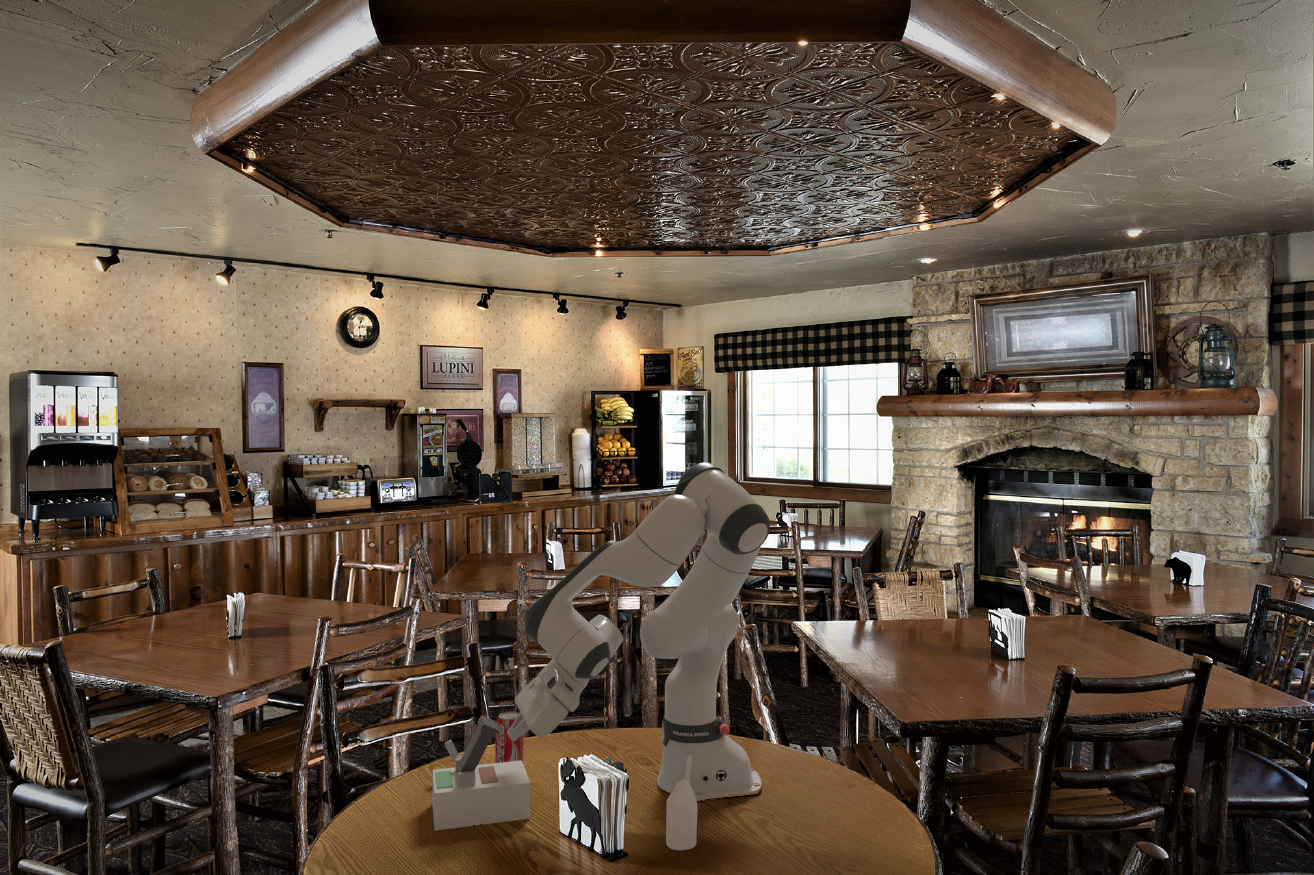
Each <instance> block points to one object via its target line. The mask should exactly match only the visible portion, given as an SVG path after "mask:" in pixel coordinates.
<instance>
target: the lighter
mask: <svg viewBox="0 0 1314 875" xmlns="http://www.w3.org/2000/svg"><path fill="white" fill-rule="evenodd" d="M444 746H445V749H446V750H447V752H448V754H449V756H450V758H451V760H452V762H455V758H461V757H462V756H463V754H461V755H460V754H459V752H458V751H457V748H456V747H455V744H454V743H453V741H452V739H448V740H447V741H445V742H444ZM464 752H465V750H464V751H463V753H464Z"/></svg>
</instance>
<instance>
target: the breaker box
mask: <svg viewBox="0 0 1314 875" xmlns="http://www.w3.org/2000/svg"><path fill="white" fill-rule="evenodd" d="M461 758H462V757H461ZM461 758H455V760H454V762H455V765H454V766H455V767H447V768H435V769H432V795H431V796H432V798H431V799H432V800H431V801H432V802H431V803H432V806H431V807H432V816H433V828H434V831H436V832H437V831H443V830H444V831H445V830H451V829H458V828H459V827H460V828H466V827H467V826H468V827H473V825H475V826H481V825H480V824H483V825H488V824H489V825H490V824H498V823H505V822H506V823H507V822H513V821H522V820H529V819H531V782H530V779H529V776H528V773H527V771H526V768H525V766H524V761H523V762H522V760H521V761H511V762H502V763H493V762H492V763H485V764H484V763H483V764H478V765H477V767H476V769H475V771H467V772H459V768H458V764H459V762H460V760H461Z"/></svg>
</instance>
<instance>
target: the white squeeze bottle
mask: <svg viewBox="0 0 1314 875" xmlns="http://www.w3.org/2000/svg"><path fill="white" fill-rule="evenodd" d="M698 809H699V808H698V801H696V798H695V795H694V792H693V790H692V788H691V786H690V782H689V781H688V780H685V779H682V780H681V781H679V782H678V783H677V784H676V786H675V788H674V790H673V791H672V793H669V796H668V797H667V799H666V815H665V816H666V820H665V821H666V823H665V824H666V825H665V827H666V830H665V833H666V834H665V836H666V837H665V844H666V846H667V848H669V849H670V850H673V851H686V850H687V851H688V850H691V849H694V848H695V847H696V845H697V839H698V838H697V833H698V832H697V830H698Z"/></svg>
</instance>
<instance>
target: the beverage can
mask: <svg viewBox="0 0 1314 875" xmlns="http://www.w3.org/2000/svg"><path fill="white" fill-rule="evenodd" d="M519 714H520V712H517V711H505V712H502V713H499V715H498V716H497V720H495V722H496V725H497V728H498V732H497V734H496V736H495V749H494V750H495V757H494V758H495V761H494V762H495V763H502V762H511V761H521V760H522V762H523V763H524V734H525V733H524V734H522V735H521V736H520V737H519V738H518V739H517V740H516V741H513V740H511V739H510V738H509V735H508V733H507V730H508V729H509V728H510V727H511V726H512V724H513V723H514V721H515V719H516V717H517V716H518V715H519Z"/></svg>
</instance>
